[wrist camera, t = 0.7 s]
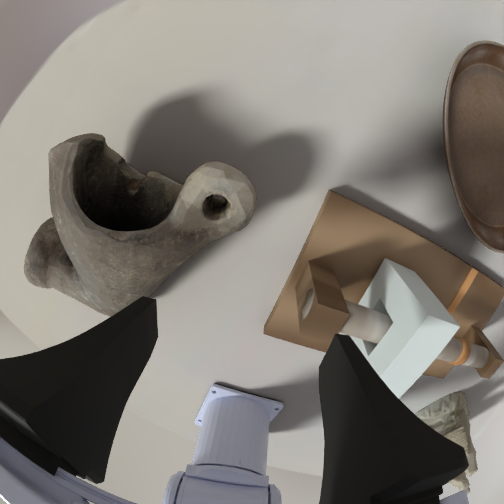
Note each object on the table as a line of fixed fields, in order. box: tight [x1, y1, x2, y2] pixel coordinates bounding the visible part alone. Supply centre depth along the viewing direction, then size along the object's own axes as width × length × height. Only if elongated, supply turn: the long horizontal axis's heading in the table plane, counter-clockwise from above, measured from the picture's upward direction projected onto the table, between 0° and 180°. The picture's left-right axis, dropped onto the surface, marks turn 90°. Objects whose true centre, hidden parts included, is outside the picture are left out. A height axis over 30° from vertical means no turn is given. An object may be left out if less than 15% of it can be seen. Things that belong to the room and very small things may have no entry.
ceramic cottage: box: [415, 392, 478, 494], centre depth 23 cm, size 16×16×15 cm
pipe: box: [24, 133, 256, 316], centre depth 17 cm, size 16×9×15 cm
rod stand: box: [264, 190, 504, 378], centre depth 18 cm, size 12×22×6 cm, turn 70°
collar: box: [339, 258, 460, 399], centre depth 16 cm, size 7×3×7 cm, turn 160°
